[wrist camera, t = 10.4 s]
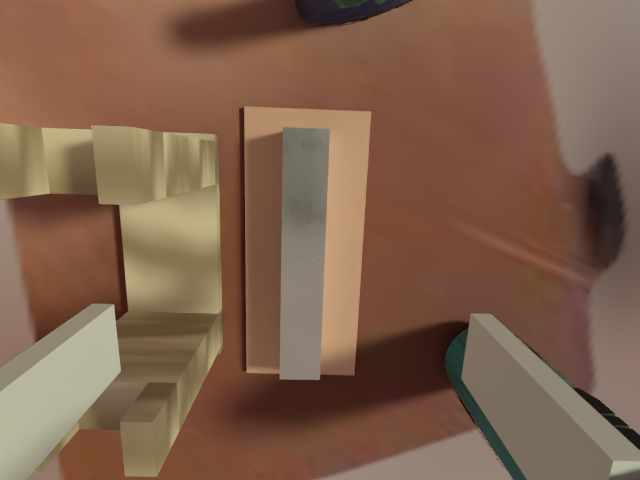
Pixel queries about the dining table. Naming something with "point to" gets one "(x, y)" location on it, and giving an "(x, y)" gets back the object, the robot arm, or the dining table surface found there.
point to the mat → (340, 232)
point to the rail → (303, 250)
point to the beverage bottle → (454, 374)
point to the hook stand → (141, 266)
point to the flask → (343, 10)
